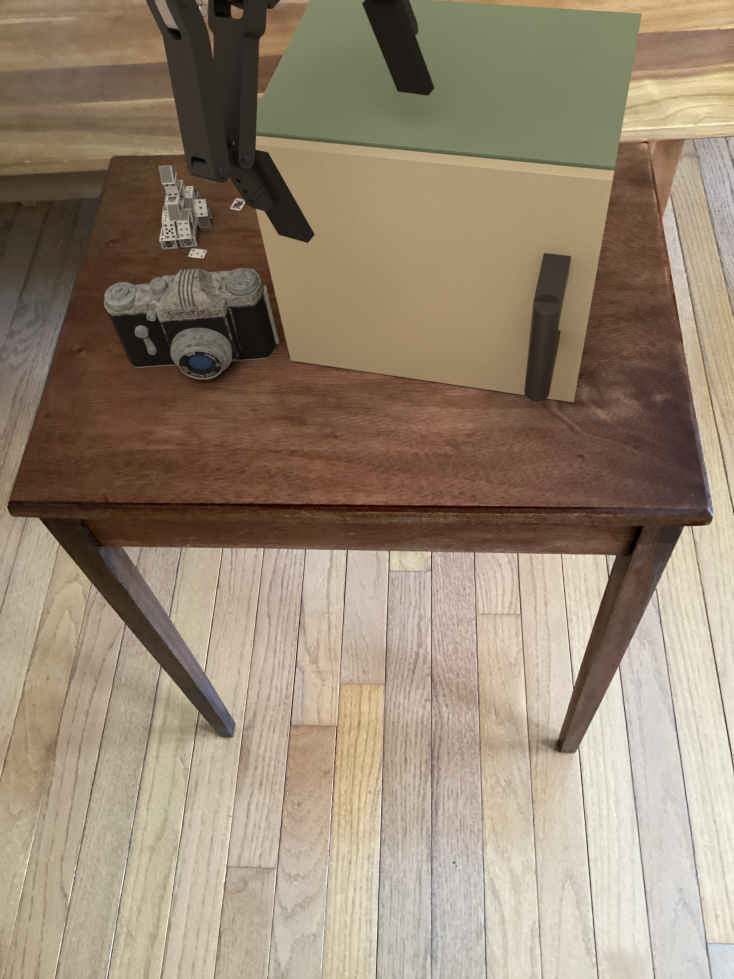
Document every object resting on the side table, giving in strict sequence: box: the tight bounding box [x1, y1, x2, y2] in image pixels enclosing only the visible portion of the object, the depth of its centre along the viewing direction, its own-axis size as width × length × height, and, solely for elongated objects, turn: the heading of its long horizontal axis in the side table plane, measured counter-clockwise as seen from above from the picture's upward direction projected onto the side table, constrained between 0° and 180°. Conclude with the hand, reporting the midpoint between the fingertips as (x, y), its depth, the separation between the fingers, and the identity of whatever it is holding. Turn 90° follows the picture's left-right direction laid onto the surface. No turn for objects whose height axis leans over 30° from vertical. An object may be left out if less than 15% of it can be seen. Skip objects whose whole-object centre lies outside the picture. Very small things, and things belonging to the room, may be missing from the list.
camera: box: [103, 267, 280, 381], centre depth 84 cm, size 15×7×10 cm, turn 91°
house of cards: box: [158, 164, 246, 260], centre depth 95 cm, size 9×9×8 cm
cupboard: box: [256, 0, 642, 172], centre depth 79 cm, size 18×26×24 cm
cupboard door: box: [255, 136, 615, 403], centre depth 73 cm, size 7×26×24 cm, turn 76°
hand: (358, 160), depth 60 cm, fingers open, 13 cm apart
